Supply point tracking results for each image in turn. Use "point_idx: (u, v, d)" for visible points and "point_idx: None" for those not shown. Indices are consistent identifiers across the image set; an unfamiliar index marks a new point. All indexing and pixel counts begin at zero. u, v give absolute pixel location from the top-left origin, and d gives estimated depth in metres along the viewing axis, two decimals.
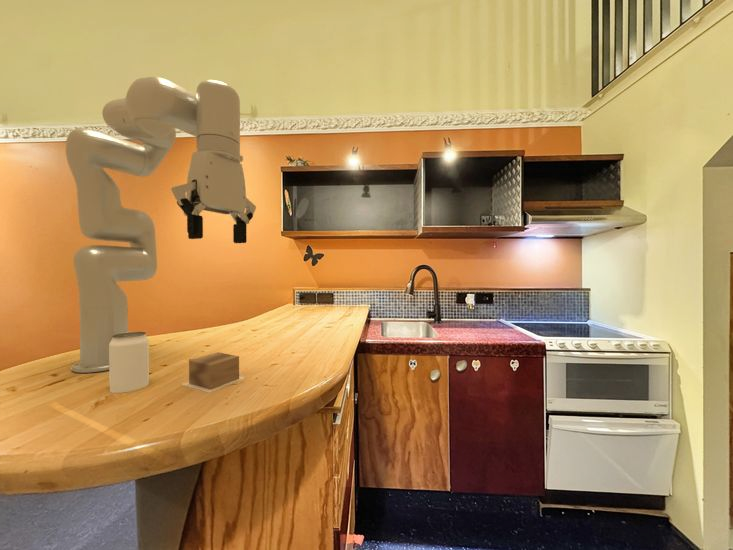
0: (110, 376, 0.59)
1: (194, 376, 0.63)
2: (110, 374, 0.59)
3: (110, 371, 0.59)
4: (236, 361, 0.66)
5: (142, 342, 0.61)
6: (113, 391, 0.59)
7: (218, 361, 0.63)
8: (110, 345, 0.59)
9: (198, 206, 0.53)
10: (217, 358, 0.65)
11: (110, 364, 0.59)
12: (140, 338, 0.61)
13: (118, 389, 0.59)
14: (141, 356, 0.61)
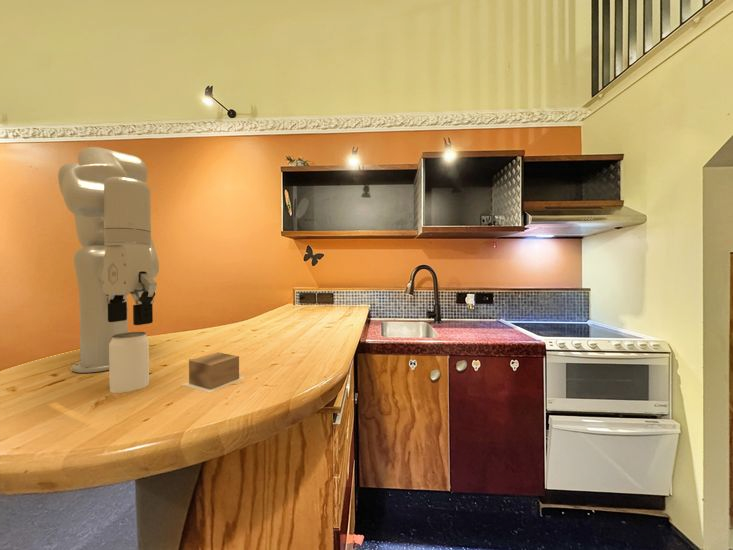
0: (110, 376, 0.59)
1: (194, 376, 0.63)
2: (110, 374, 0.59)
3: (110, 371, 0.59)
4: (236, 361, 0.66)
5: (143, 342, 0.61)
6: (113, 391, 0.59)
7: (218, 361, 0.63)
8: (110, 345, 0.59)
9: None
10: (217, 358, 0.65)
11: (110, 364, 0.59)
12: (140, 338, 0.61)
13: (118, 389, 0.59)
14: (141, 356, 0.61)
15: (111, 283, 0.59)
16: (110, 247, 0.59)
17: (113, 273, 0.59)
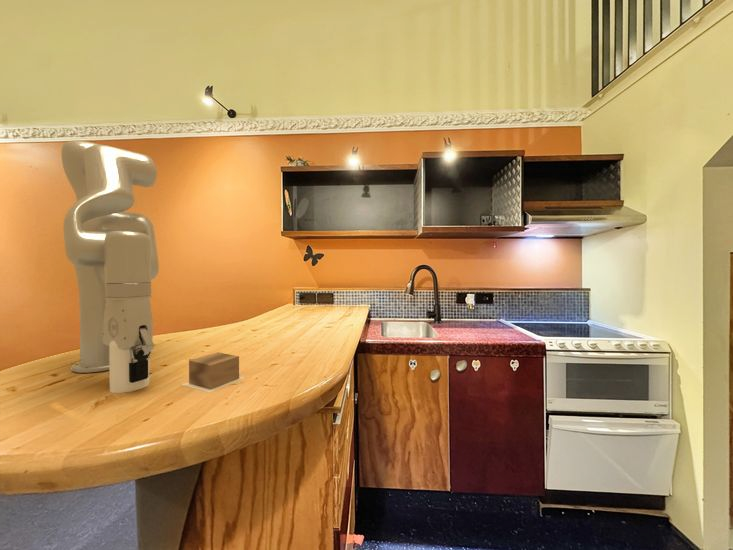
0: (110, 376, 0.59)
1: (194, 376, 0.63)
2: (111, 373, 0.59)
3: (110, 371, 0.59)
4: (236, 361, 0.66)
5: None
6: (113, 391, 0.59)
7: (218, 361, 0.63)
8: (110, 345, 0.59)
9: None
10: (217, 358, 0.65)
11: (110, 364, 0.59)
12: None
13: (118, 389, 0.59)
14: None
15: (111, 337, 0.59)
16: (110, 300, 0.60)
17: (113, 327, 0.59)
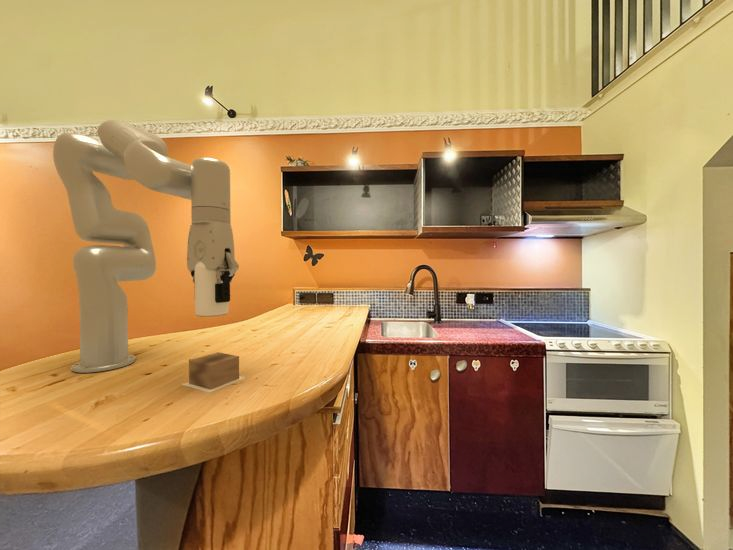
0: (197, 296, 0.62)
1: (194, 376, 0.63)
2: (197, 294, 0.62)
3: (197, 291, 0.62)
4: (236, 361, 0.66)
5: (225, 266, 0.64)
6: (200, 310, 0.61)
7: (218, 361, 0.63)
8: (197, 266, 0.62)
9: None
10: (217, 358, 0.65)
11: (197, 285, 0.62)
12: None
13: (205, 308, 0.61)
14: None
15: (197, 259, 0.62)
16: (196, 225, 0.62)
17: (200, 249, 0.62)
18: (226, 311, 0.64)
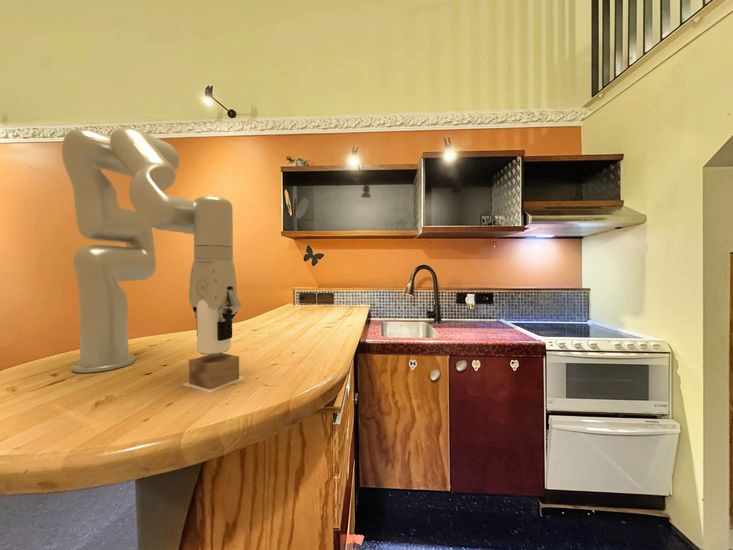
0: (199, 334, 0.62)
1: (194, 376, 0.63)
2: (200, 332, 0.62)
3: (199, 329, 0.62)
4: (236, 361, 0.66)
5: (227, 303, 0.64)
6: (202, 348, 0.62)
7: (218, 361, 0.63)
8: (199, 304, 0.62)
9: None
10: (217, 358, 0.65)
11: (199, 323, 0.62)
12: None
13: (207, 346, 0.62)
14: None
15: (200, 297, 0.62)
16: (199, 262, 0.63)
17: (202, 287, 0.62)
18: (228, 347, 0.65)
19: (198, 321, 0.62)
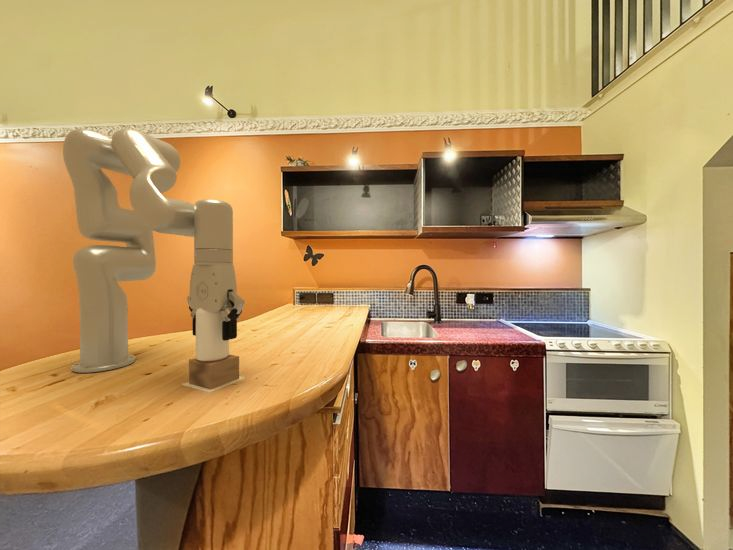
0: (197, 342, 0.63)
1: (194, 376, 0.63)
2: (198, 339, 0.62)
3: (197, 337, 0.63)
4: (236, 361, 0.66)
5: None
6: (200, 356, 0.62)
7: (218, 361, 0.63)
8: (197, 312, 0.62)
9: None
10: None
11: (197, 330, 0.62)
12: None
13: (205, 354, 0.62)
14: None
15: (200, 300, 0.62)
16: (199, 266, 0.63)
17: (202, 290, 0.62)
18: (226, 355, 0.65)
19: (196, 329, 0.63)
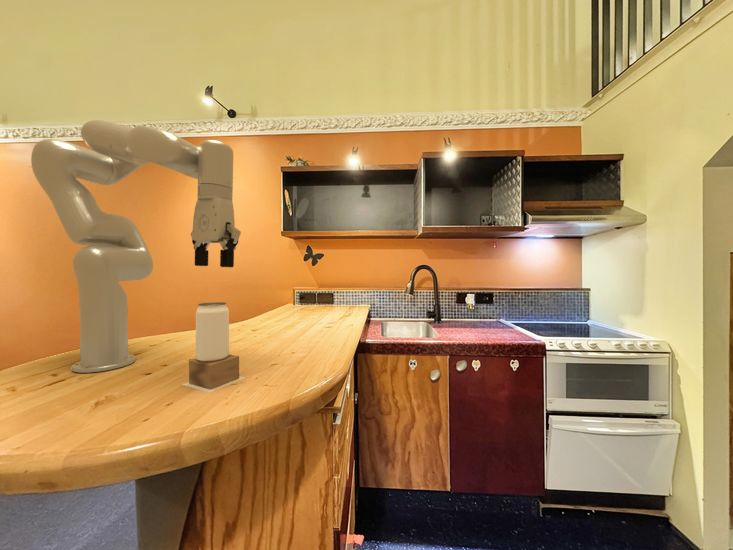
0: (197, 342, 0.63)
1: (194, 376, 0.63)
2: (198, 339, 0.62)
3: (197, 337, 0.63)
4: (236, 361, 0.66)
5: (225, 311, 0.64)
6: (200, 356, 0.62)
7: (218, 361, 0.63)
8: (197, 312, 0.62)
9: None
10: None
11: (197, 330, 0.62)
12: (223, 307, 0.64)
13: (205, 354, 0.62)
14: (224, 324, 0.64)
15: (201, 231, 0.70)
16: (201, 200, 0.70)
17: (204, 222, 0.69)
18: (226, 355, 0.65)
19: (196, 329, 0.63)
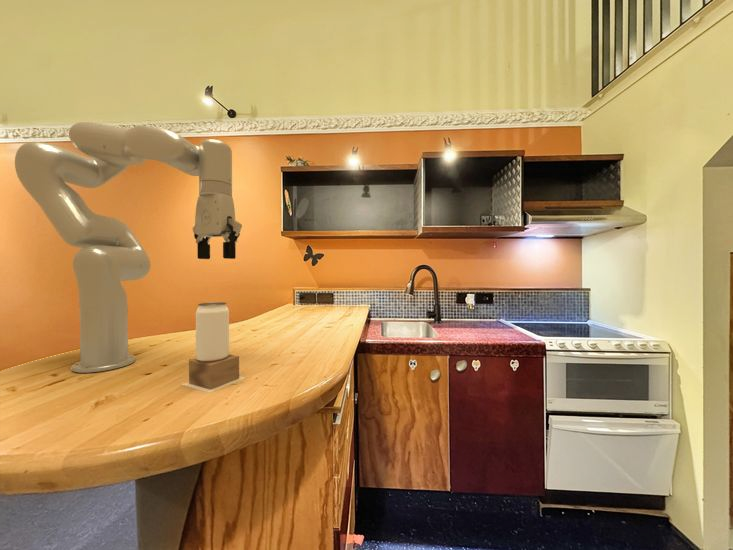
0: (197, 342, 0.63)
1: (194, 376, 0.63)
2: (198, 339, 0.62)
3: (197, 337, 0.63)
4: (236, 361, 0.66)
5: (225, 311, 0.64)
6: (200, 356, 0.62)
7: (218, 361, 0.63)
8: (197, 312, 0.62)
9: None
10: None
11: (197, 330, 0.62)
12: (223, 307, 0.64)
13: (205, 354, 0.62)
14: (224, 324, 0.64)
15: (204, 225, 0.74)
16: (203, 196, 0.74)
17: (206, 217, 0.73)
18: (226, 355, 0.65)
19: (196, 329, 0.63)
